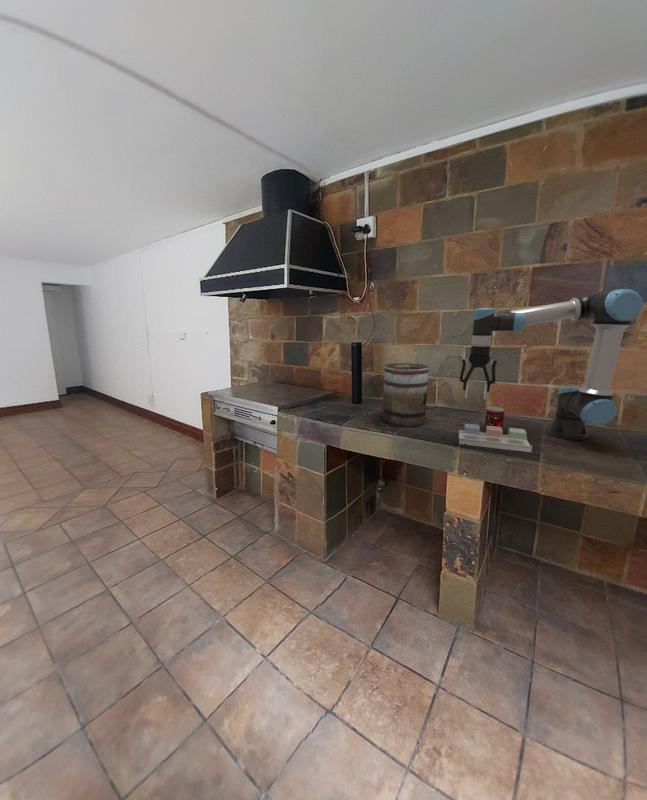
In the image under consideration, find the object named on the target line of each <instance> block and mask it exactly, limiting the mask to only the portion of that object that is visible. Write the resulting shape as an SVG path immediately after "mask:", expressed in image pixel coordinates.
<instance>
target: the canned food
mask: <svg viewBox="0 0 647 800" xmlns="http://www.w3.org/2000/svg"><path fill="white" fill-rule="evenodd" d="M505 413H506V412H505V408H503V407H499V406H488V407H487V408H486V411H485V418H484V430H485V431H486V426H496V427H501V428H502V429H503V427H504V426H503V425H504V419H505Z"/></svg>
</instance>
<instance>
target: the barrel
mask: <svg viewBox="0 0 647 800" xmlns="http://www.w3.org/2000/svg"><path fill="white" fill-rule="evenodd" d="M429 367H430V366H429V365H425V364H420V363H409V362H407V363H406V362H405V363H402V362H401V363H400V362H397V363H387V364H384V368H383V370H384V371H383V373H384V374H383V377H384V378H383V398H382V422H383V423H384V424H386V425H389V426H392V427H397V428H408V429H409V428H418V427H422V426H423V425H425V423H426V411H427V410H426V409H427V400H428V399H427V397H428V383H429V369H430V368H429Z"/></svg>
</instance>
